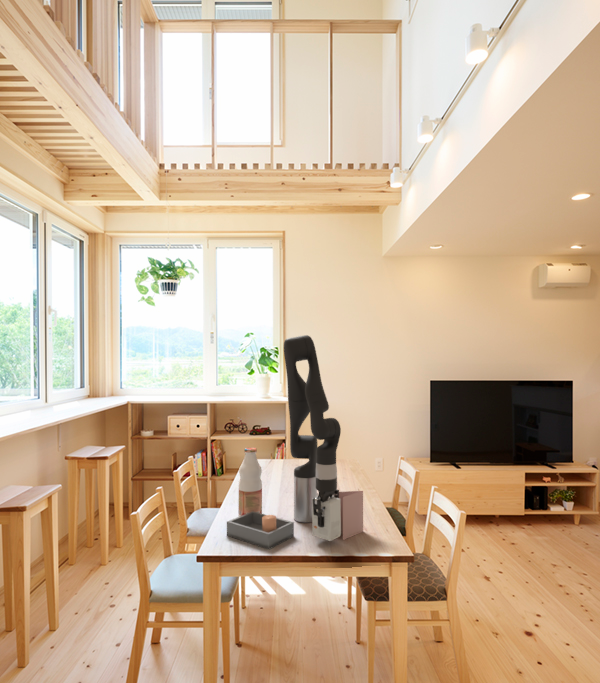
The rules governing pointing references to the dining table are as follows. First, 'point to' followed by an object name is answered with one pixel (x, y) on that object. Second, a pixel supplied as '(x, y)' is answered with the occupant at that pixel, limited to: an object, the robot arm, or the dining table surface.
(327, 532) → the small box
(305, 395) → the robot arm
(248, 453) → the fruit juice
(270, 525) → the peach rounded piece
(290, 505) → the dining table surface
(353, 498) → the greeting card
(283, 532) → the tote
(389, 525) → the dining table surface
